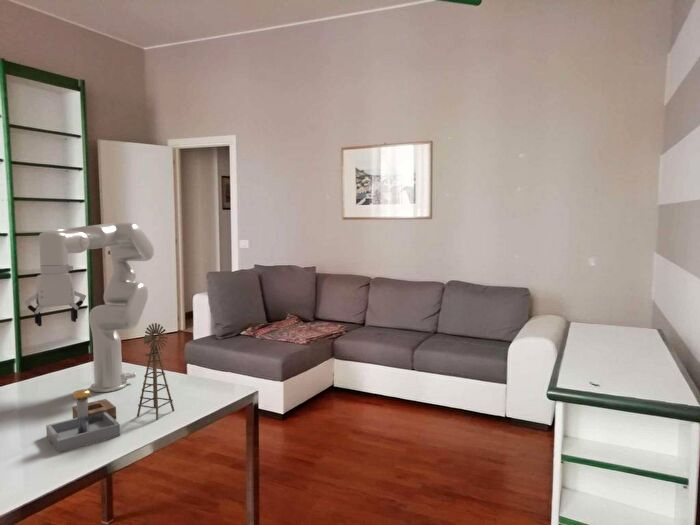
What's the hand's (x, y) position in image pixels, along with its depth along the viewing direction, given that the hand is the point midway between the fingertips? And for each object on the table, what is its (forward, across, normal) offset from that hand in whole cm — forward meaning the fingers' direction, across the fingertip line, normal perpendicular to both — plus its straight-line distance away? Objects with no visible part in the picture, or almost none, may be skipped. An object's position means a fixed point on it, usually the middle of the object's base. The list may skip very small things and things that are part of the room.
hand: (56, 323), depth 155 cm
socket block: (+30, -7, +11) cm, 33 cm away
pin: (+30, -1, +22) cm, 37 cm away
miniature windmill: (+31, -23, +20) cm, 43 cm away
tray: (+30, -1, +22) cm, 37 cm away
